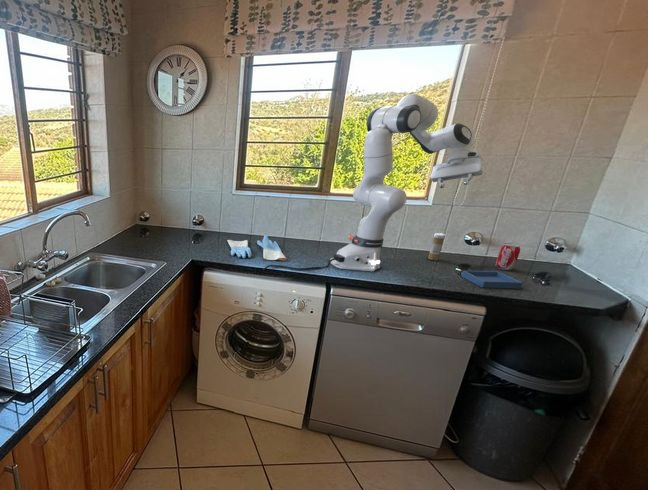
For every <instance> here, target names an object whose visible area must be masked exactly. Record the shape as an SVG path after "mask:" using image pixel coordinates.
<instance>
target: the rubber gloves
mask: <svg viewBox="0 0 648 490" xmlns="http://www.w3.org/2000/svg"><path fill="white" fill-rule="evenodd" d="M227 244H228V245H229V247H230V249H231V250H230V255H231V257H235V254H236V256H237V258H241V257H242V259H246V257H248V258H249V259H250V258H252V250H251V248H250V247H249V241H248V239H245V240H233V239H227ZM256 244H257V245H258V246H260V247H261V248H262V250H263V254H262V257H263V260H264V261H276V260H278V261H287V260H288V258H287V257H286V255H285V254H284V253H283V252H282V249H281V248H280V246H279V244H278V242H276V240H274V241H272V240H271V239H269V236H268V235H267V234H264V235H263V238H262V240H257V241H256Z"/></svg>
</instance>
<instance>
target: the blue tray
mask: <svg viewBox="0 0 648 490" xmlns="http://www.w3.org/2000/svg"><path fill="white" fill-rule="evenodd" d="M460 276H461V277H462V278H463V279H465V280H467V281H469V282H470V283H472V284H475V285H477V286H478V287H481V288H482V289H485V288H486V289H517V290H519V289H521V288H522V285H523V281H520V280H518V279H516V278H514V277H511V276H510V275H507V274H506V273H503V272H501V271H499V270H497V271H496V270H462V272H461V275H460Z"/></svg>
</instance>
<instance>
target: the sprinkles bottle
mask: <svg viewBox="0 0 648 490" xmlns="http://www.w3.org/2000/svg"><path fill="white" fill-rule="evenodd" d="M445 238H446V234H445V233H441V232H435V233H434V234H433V239H432V242H431V246H430V250H429V253H428V258H427V260H430V261H439V259H440V255H441V252H442V248H443V243H444V240H445Z"/></svg>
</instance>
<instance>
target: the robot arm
mask: <svg viewBox="0 0 648 490" xmlns="http://www.w3.org/2000/svg"><path fill="white" fill-rule="evenodd" d="M438 116H439V109H438V106H437V105H436V104H434V103H433V102H432V101H430V99H427V98H425V97H424V96H421V95H419V94H416V93H410V94H409V93H408V94H407V95H405V96H403V97H402V98H401V99H400V100H399V101H398V102H397V105H389V106H380V107H376V108H374V109H372V110H371V111H370V112H369V114H368V116H367V118H366V130H367V132H366V134H365V138H364V143H363V174H362V178H361V180H360V182H359V184H357V185H356V186H355V187H354V190H353V192H352V197H353V200H354V201H355V202H357V203H358V204H361V205H362V206H364V207H369V208H370V211H369V212H368V214H367V215H365V216H363V217H361V219H360V220H359V224H358V227H357V228H358V229H357V232H356V233H357V234H356V235H355V236H353V235H348V238H347V239H348V240H350V241H351V242H350V243H348V244H347V245H344V246H343V247H341V248H339V249H338V250H337V251H336V254H333V257H331V258H329V260H328V263H327V265H325V266H311V267H292V266H287V265H282V264H269V265H266V266H264V267H263V269H262V271H265V270H266V269H268V268H271V267H273V268H285V269H290V270H297V271H306V270H307V271H308V270H315V269H319V270H320V269H325V268H328V267H330V265H332V266H334V267H335V268H338V269H341V270H349V271H350V270H351V271H361V272H376V270H380V269H381V250H382V248H383V245H384V241H385V240H384V235H385V231H386V228H387V225H388V222H389V220H390V219H391V217H392V216H393V215H394V214H395V213H396V212H398V211H400V210H401V209H402V208H403V207H404V206H405V205H406V203H407V197H408V196H407V193H406V192H405V190H403V189H402V188H399V187H397V186H395V185H389V184H385V182H384V181H385V177H386V176H388V175H389V174H390V173H391V172H392V171H393V161H394V160H393V159H394V158H393V155H394V153H393V152H394V151H393V140H392V139H393V136H394V135H395V134H407V133H409V135H410V136H411V137H412V139H414V140H415V142H417V144H418V145H419V146H420V148H421V150H422V151H423V152H424V153H426V154H428V155H431V154H434V153H438V152H440V151H442V150H443V151H444V150H447V149H449V148H450V151H449V153H448V156H447V160H446V162H442V163H437V164H436V165H434V166H433V167H432V170H431V173H430V176H429V179H430V180H431V181H432V182H433V183H439V186H438V187H439V189H445V186H446V184H445V183H444V182H445V181H453V180H458V179H464V178H466V179H464V180H463V185H465V186H468V185H469V184H470V182H471V181H472V179H474V177H477V176H478V177H479V176H482V175H483V174H484V173H485V163H484V156H483V155H482V153H480V152H479V151H473V150H474V148H475V147H474V146H475V141H476V133H475V130H474V129H473V128H471V127H469V126H466V124H463V123H459V122H458V123H454V124H451V125H447V126H445V127H442V128H439V129H437V130H433V131H429V132H428V131H427V130H428V129H430V128H431V127H432V126H433V125H434V124H435V123H436V121H437V119H438Z"/></svg>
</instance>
